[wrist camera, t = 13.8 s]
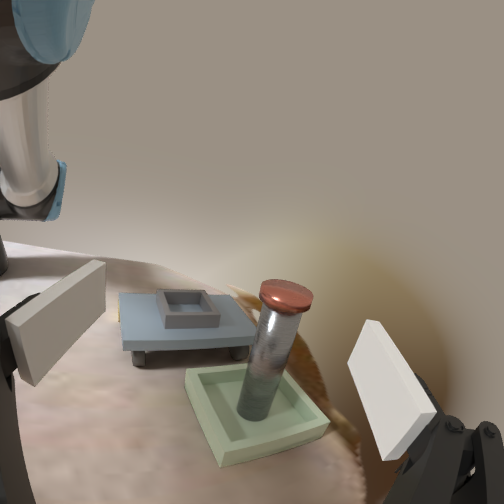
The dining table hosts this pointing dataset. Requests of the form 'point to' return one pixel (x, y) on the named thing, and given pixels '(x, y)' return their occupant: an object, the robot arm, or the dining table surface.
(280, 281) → the pin
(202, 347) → the cart
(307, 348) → the dining table surface
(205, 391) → the tray
